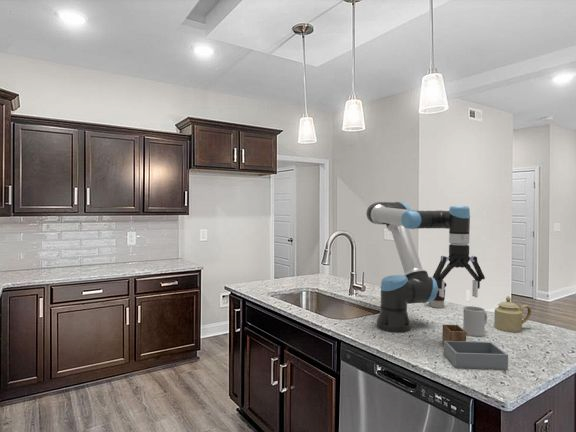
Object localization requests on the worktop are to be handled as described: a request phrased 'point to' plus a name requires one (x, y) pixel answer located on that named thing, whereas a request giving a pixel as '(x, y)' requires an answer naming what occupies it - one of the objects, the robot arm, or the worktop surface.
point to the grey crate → (475, 355)
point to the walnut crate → (453, 333)
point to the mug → (474, 321)
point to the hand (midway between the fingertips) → (458, 296)
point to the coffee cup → (438, 299)
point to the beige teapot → (510, 316)
